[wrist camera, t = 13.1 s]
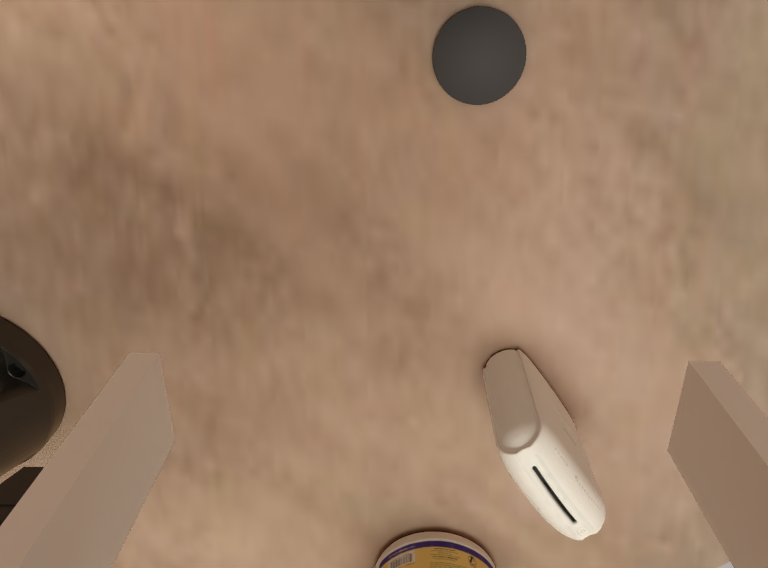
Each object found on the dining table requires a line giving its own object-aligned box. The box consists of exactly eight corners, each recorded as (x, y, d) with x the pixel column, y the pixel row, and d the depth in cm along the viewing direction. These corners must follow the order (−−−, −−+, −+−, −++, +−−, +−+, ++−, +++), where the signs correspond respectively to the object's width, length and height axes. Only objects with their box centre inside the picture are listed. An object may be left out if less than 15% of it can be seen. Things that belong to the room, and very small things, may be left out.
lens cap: (420, 86, 43) (420, 88, 42) (450, -7, 41) (451, -7, 40) (503, 113, 44) (505, 116, 43) (538, 23, 41) (540, 24, 40)
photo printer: (581, 425, 54) (624, 540, 43) (536, 447, 56) (567, 565, 44) (519, 338, 51) (550, 438, 40) (473, 363, 52) (490, 467, 41)
